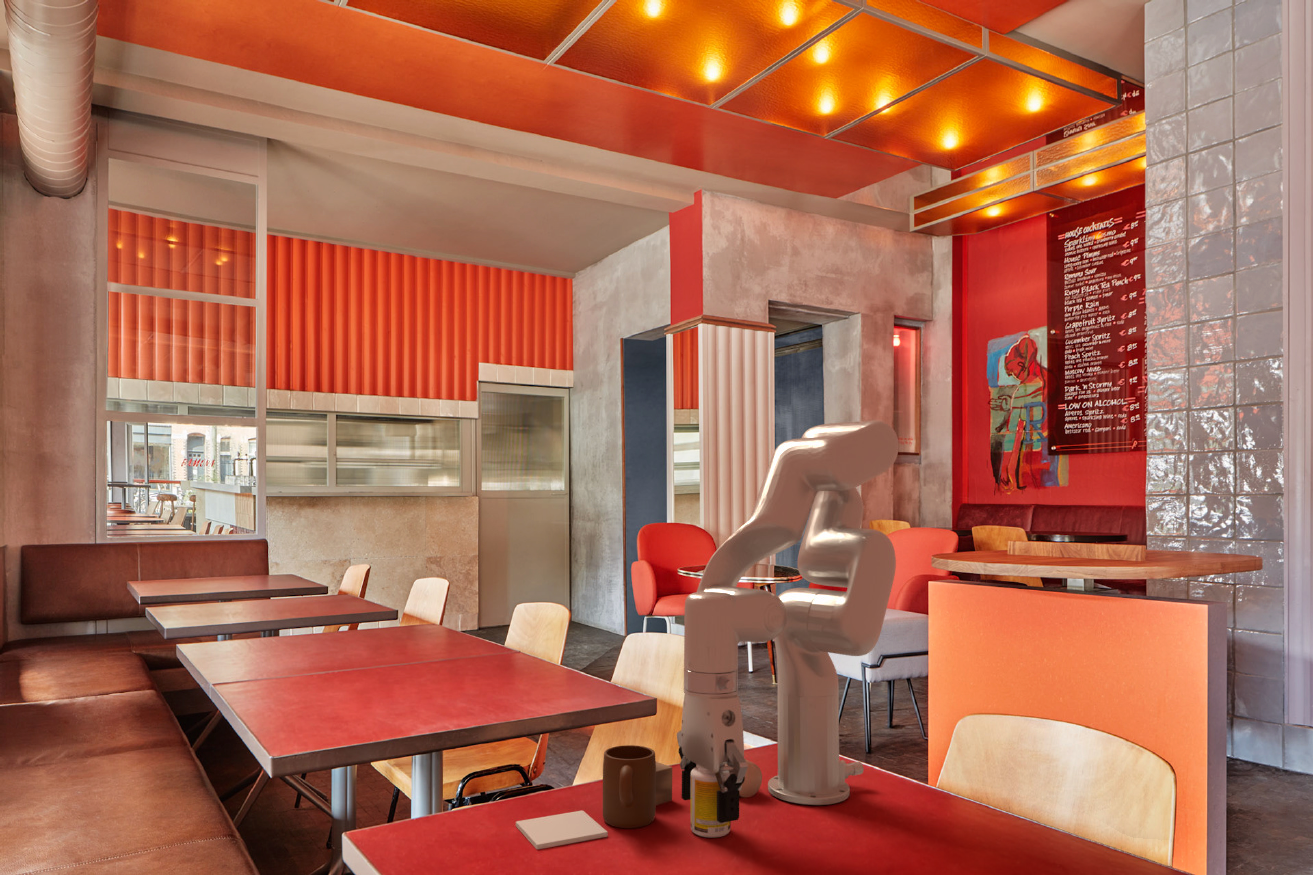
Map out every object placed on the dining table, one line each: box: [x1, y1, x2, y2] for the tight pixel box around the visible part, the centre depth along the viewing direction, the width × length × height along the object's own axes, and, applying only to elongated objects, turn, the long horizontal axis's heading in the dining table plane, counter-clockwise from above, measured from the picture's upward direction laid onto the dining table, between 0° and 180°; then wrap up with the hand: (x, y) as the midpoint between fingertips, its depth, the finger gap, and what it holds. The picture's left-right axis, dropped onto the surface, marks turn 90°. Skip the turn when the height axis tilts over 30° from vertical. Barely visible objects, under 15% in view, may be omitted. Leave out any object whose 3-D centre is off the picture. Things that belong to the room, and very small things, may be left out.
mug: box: [602, 744, 657, 829], centre depth 119 cm, size 12×8×9 cm, turn 178°
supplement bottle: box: [689, 764, 732, 839], centre depth 117 cm, size 6×6×10 cm
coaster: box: [515, 810, 608, 850], centre depth 116 cm, size 10×9×1 cm
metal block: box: [656, 761, 673, 806], centre depth 129 cm, size 5×5×5 cm
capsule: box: [725, 758, 763, 798], centre depth 134 cm, size 5×7×5 cm
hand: (709, 808), depth 116 cm, fingers open, 9 cm apart
